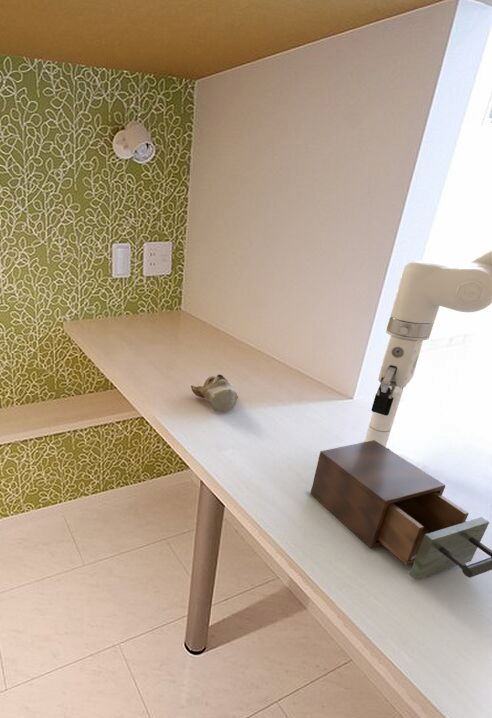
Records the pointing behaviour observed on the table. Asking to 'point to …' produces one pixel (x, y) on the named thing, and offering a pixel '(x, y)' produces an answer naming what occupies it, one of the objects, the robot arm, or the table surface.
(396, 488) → the cabinet
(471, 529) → the drawer
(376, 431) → the tube
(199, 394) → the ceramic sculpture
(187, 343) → the table surface
